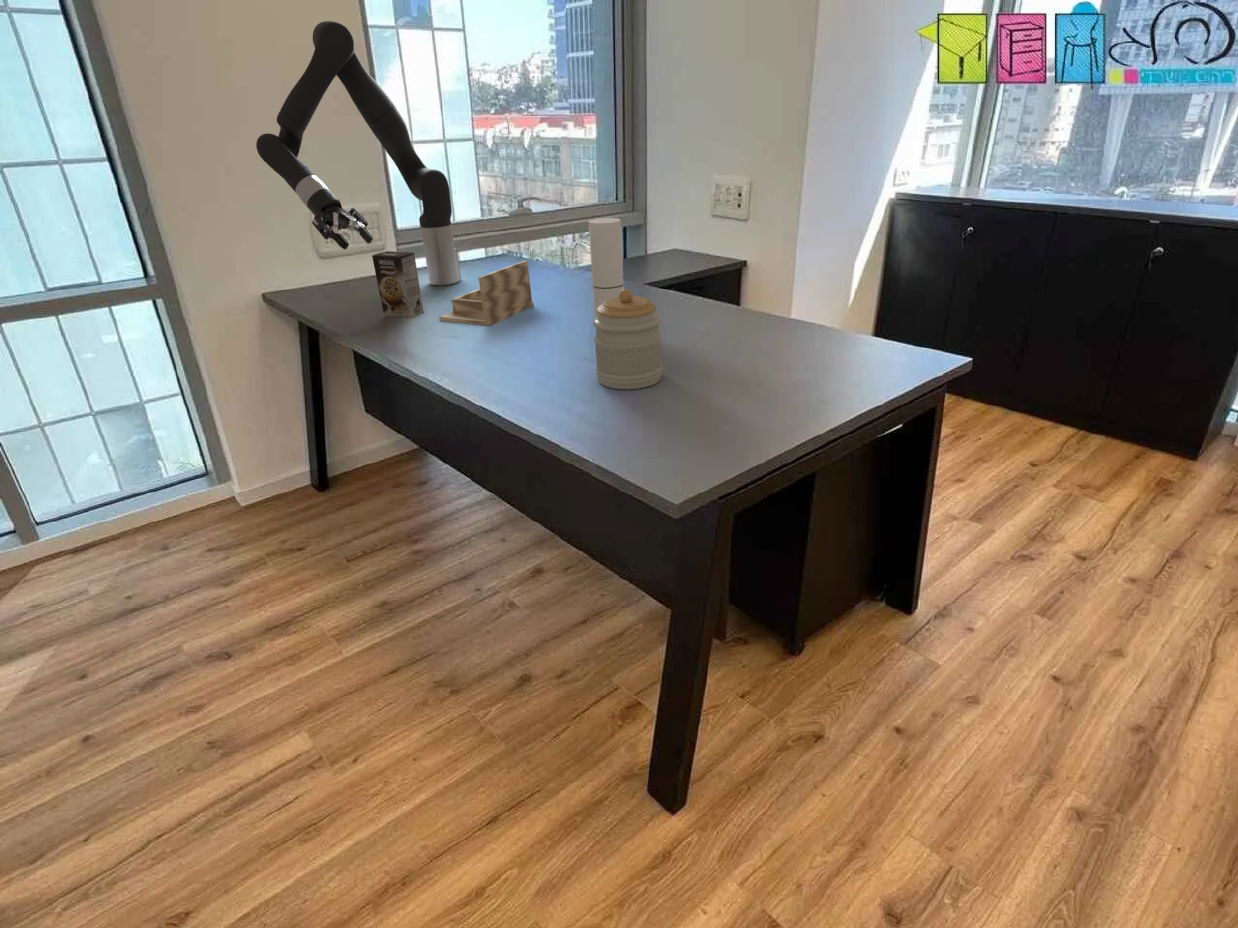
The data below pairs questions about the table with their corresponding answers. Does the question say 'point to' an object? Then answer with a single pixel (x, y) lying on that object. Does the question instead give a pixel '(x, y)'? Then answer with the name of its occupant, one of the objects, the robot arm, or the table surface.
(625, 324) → the jar
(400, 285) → the coffee box
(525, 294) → the holder
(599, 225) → the cylindrical container
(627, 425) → the table surface
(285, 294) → the table surface
